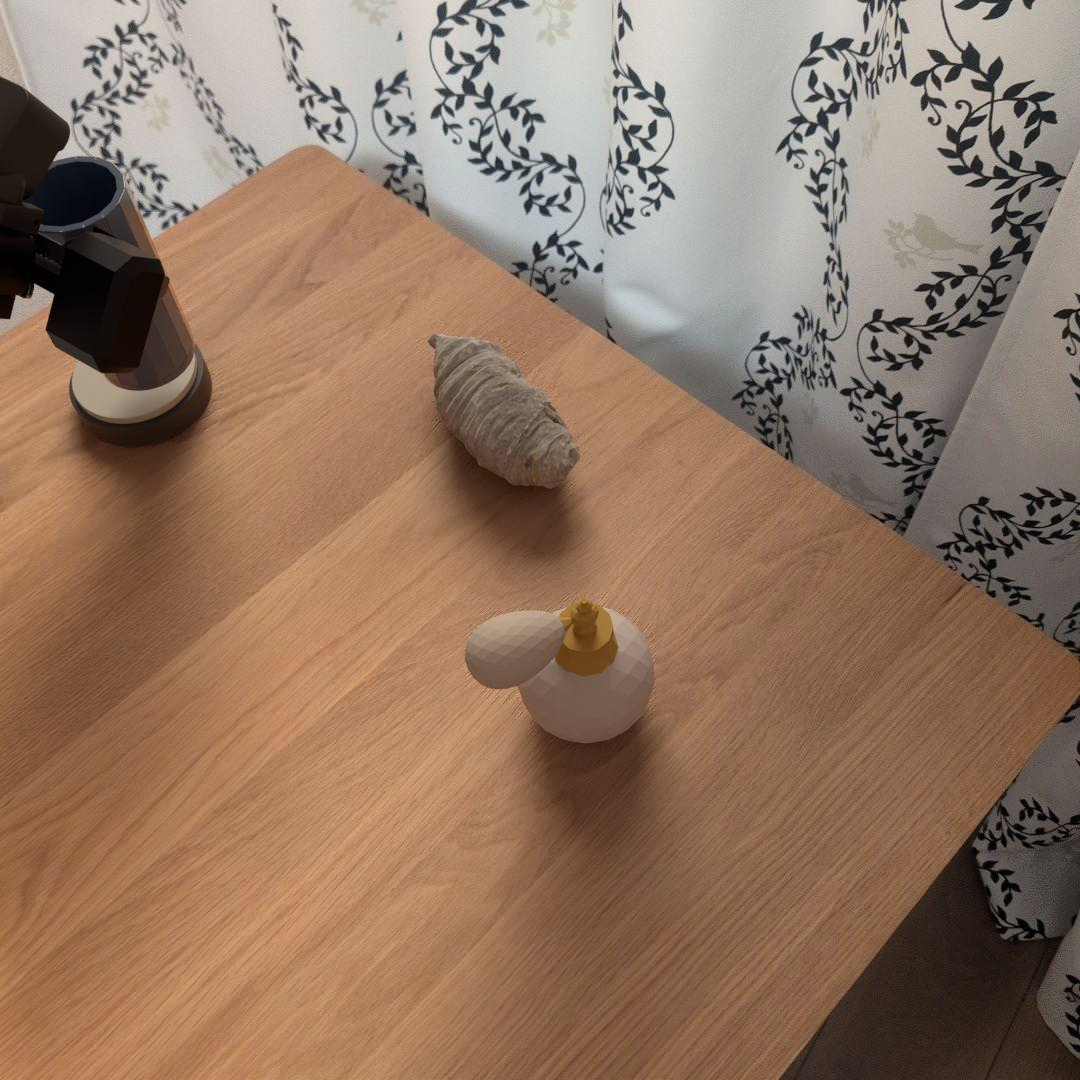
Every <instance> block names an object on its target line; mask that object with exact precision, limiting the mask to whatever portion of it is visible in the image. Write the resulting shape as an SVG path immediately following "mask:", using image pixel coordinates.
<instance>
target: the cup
mask: <svg viewBox="0 0 1080 1080" xmlns="http://www.w3.org/2000/svg"><path fill="white" fill-rule="evenodd" d="M22 203H28V204H32V205H34V206H36V207H38V208H40V209H42V210H44V212H43V216H42V220H41V224H40V228H39V232H40V233H42V234H44V235H46V236H48V237H50V238H52V239H54V240H56V241H57V242H59V243H61V244H63V245H64V243H65V242H66V241H67V240H68V239H70V238H77V237H79V236H80V235H81V234H82V233H83V232H85V231H88V232H93V228H94V226H97V227H99V228H101V229H103V230H105V231H106V232H108V233H110V234H112V235H114V236H116V237H118V238H120V239H122V240H124V241H126V242H127V243H129V244H131V245H133V246H135V247H137V248H139V249H141V250H143V251H145V252H147V253H149V254H150V255H152V256H154V257H156V258H158V259H160V261H161V264H162V266H163V269H164V272H165V276H167V277H169V276H168V274H167V273H168V272H166V269H165V266H164V264H163V262H162V260H161V257H160V255H159V253H158V250H157V248H156V245H155V243H154V241H153V239H152V236H151V234H150V231H149V230H148V227H147V225H146V222H145V220H144V217H143V215H142V213H141V210H140V208H139V206H138V203H137V201H136V199H135V197H134V194H133V193H132V189H131V188H130V185H129V183H128V181H127V178H126V176H125V174H124V173H123V171H122V170H121V169H120V167H118V166H117V165H116V164H115V163H113V162H112V161H109V160H107V159H104V158H102V157H99V156H90V155H89V156H88V155H75V156H70V157H64V158H60V159H56V160H53V162H52V164H51V165H50V167H49V169H48V171H47V172H46V174H45V176H44V178H43V179H42V181H41V183H40V185H39V186H38V188H37V190H36V191H35V193H34V194H33V195H32V196H31V197H30V198H28V199H26V200H24V201H22ZM36 253H37V252H36ZM41 256H42V255H41ZM44 258H46V257H44ZM46 259H47V258H46ZM50 261H52V260H50ZM52 262H53V261H52ZM56 264H58V263H56ZM195 344H196V342H195V338H194V337H193V333H192V330H191V327H190V324H189V323H188V320H187V318H186V316H185V313H184V311H183V308H182V306H181V304H180V301H179V299H178V297H177V294H176V292H175V290H174V288H173V285H172V283H171V280H170V281H169V285H168V289H167V292H166V294H165V295H164V296H163V297H162V298H160V299H159V300H158V302H157V305H156V309H155V312H154V316H153V319H152V323H151V326H150V330H149V334H148V337H147V341H146V344H145V348H144V351H143V355H142V359H141V362H140V366H139V368H138V369H136V370H134V371H132V372H130V373H102V374H103V375H104V377H105V378H106V379H107V380H108V381H109V382H110V383H112V384H113V385H115V386H117V387H119V388H122V389H126V390H132V391H144V390H150V389H155V388H158V387H161V386H163V385H166V384H168V383H170V382H171V381H173V380H174V379H176V378H177V377H179V376H180V375H181V374H182V373H183V372H184V371H185V370H186V369H187V367H188V366H189V364H190V363H191V361H192V359H193V356H194V352H195Z"/></svg>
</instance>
